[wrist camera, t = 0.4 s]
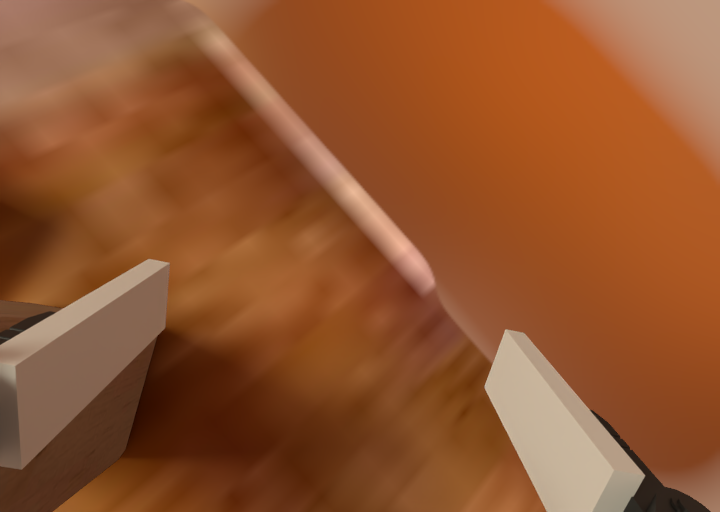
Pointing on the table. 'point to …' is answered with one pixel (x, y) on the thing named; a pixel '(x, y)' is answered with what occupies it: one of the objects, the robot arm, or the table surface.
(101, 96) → the table surface
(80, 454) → the wooden block
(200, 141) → the table surface
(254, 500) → the table surface
